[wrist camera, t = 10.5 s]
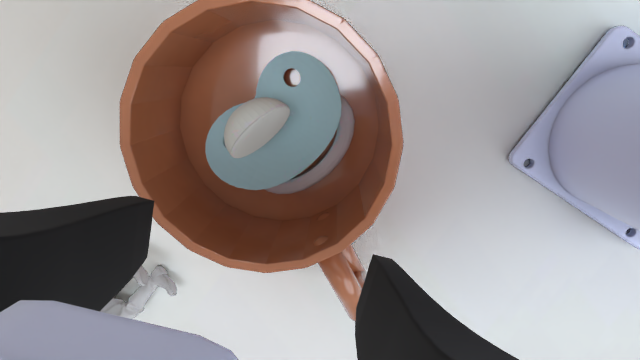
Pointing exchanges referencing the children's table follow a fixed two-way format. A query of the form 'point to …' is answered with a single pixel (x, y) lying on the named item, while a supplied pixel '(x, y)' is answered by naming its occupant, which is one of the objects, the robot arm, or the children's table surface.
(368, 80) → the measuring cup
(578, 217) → the children's table surface
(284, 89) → the pacifier
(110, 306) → the soldier figure
